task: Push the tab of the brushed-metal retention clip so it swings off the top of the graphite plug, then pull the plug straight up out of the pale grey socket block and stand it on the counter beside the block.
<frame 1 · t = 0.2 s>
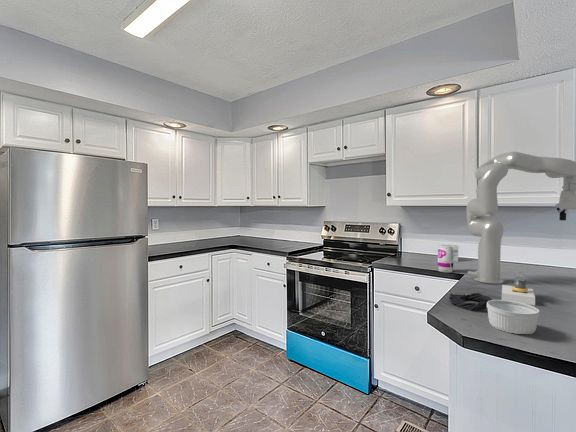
hand: (571, 220, 158), 31 cm above the counter, tool pointing down, fingers open, 9 cm apart
ramekin: (511, 329, 94), on the counter
socket block: (519, 298, 126), on the counter
light bulb box: (449, 260, 219), on the counter
clip: (520, 275, 127), point 9 cm above the counter, hinge at 0.0°
plug: (519, 298, 126), resting in socket block
cable: (469, 306, 117), on the counter
supplement can: (445, 271, 180), on the counter
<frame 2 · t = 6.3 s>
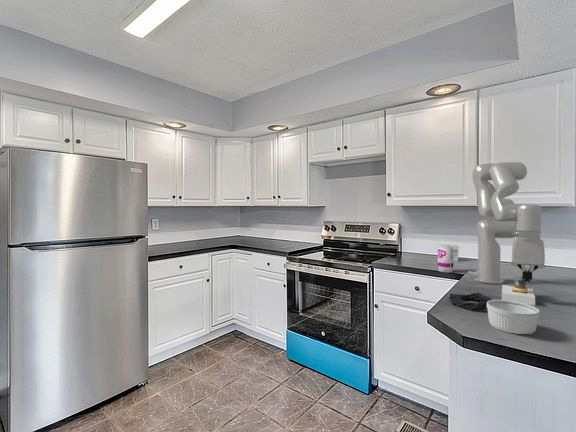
hand: (527, 281, 122), 8 cm above the counter, tool pointing down, fingers closed
clip: (518, 275, 127), point 9 cm above the counter, hinge at 5.0°, touching gripper
everything else where it was.
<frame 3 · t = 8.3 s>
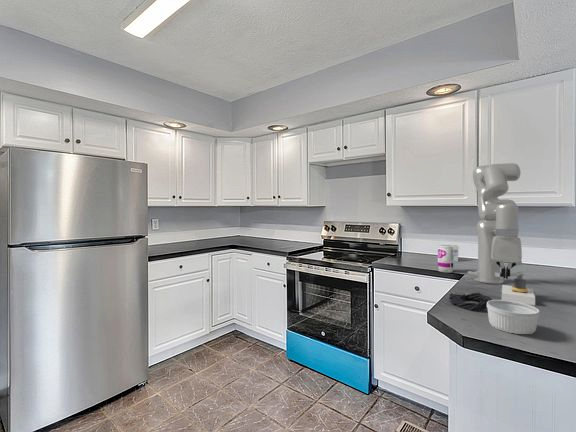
hand: (505, 278, 126), 8 cm above the counter, tool pointing down, fingers closed
clip: (509, 274, 130), point 9 cm above the counter, hinge at 43.5°, touching gripper
everything else where it was.
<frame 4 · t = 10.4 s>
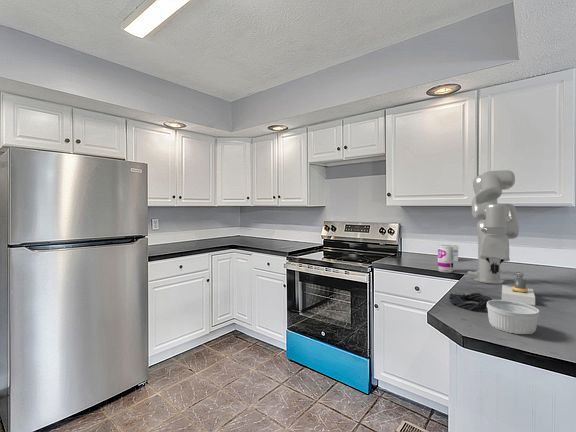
hand: (494, 273, 134), 9 cm above the counter, tool pointing down, fingers closed
clip: (505, 272, 134), point 9 cm above the counter, hinge at 90.7°, touching gripper
everything else where it was.
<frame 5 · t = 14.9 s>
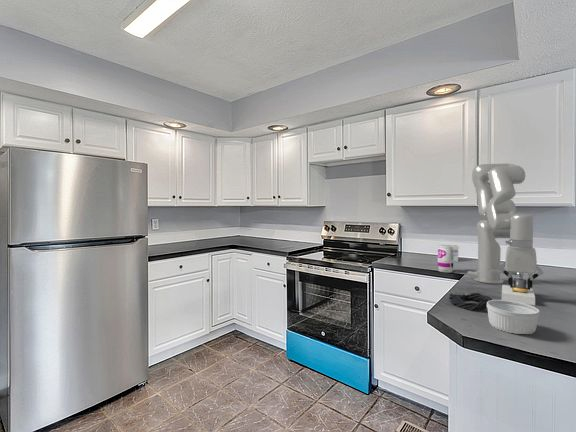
hand: (519, 287, 126), 4 cm above the counter, tool pointing down, fingers closed on plug, 5 cm apart
clip: (505, 272, 134), point 9 cm above the counter, hinge at 98.4°
plug: (519, 298, 126), resting in socket block, touching gripper
everything else where it was.
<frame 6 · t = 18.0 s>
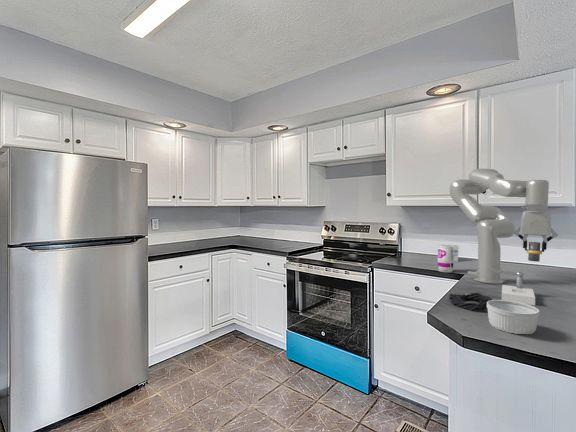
hand: (534, 250, 132), 19 cm above the counter, tool pointing down, fingers closed on plug, 5 cm apart
plug: (533, 260, 132), point 15 cm above the counter, touching gripper
everything else where it was.
when the fingers open (6 cm above the counter, at t = 21.2 s): plug stays where it is, on the counter.
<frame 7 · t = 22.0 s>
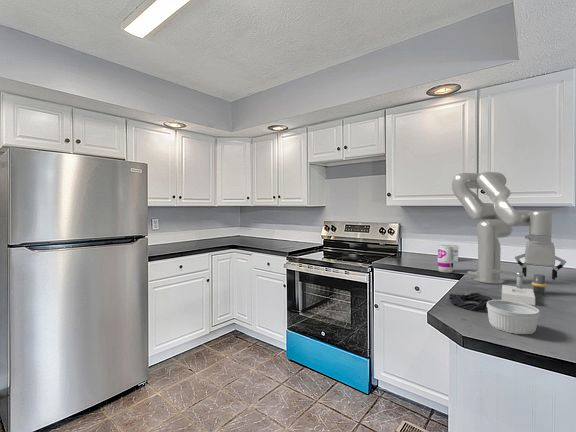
hand: (539, 277, 134), 7 cm above the counter, tool pointing down, fingers open, 9 cm apart
plug: (538, 293, 134), on the counter
everything else where it was.
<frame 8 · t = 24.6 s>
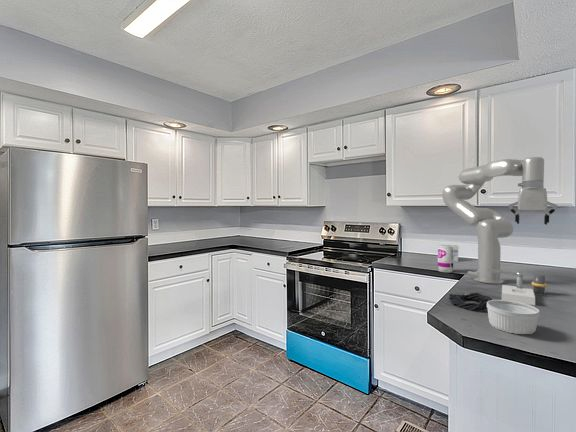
hand: (531, 224, 136), 30 cm above the counter, tool pointing down, fingers open, 9 cm apart
nothing on the counter moved.
at the end: clip at +98° (first picture: +0°); plug inside the target area (0.2 cm from its centre), on the counter; plug tilted 0° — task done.
